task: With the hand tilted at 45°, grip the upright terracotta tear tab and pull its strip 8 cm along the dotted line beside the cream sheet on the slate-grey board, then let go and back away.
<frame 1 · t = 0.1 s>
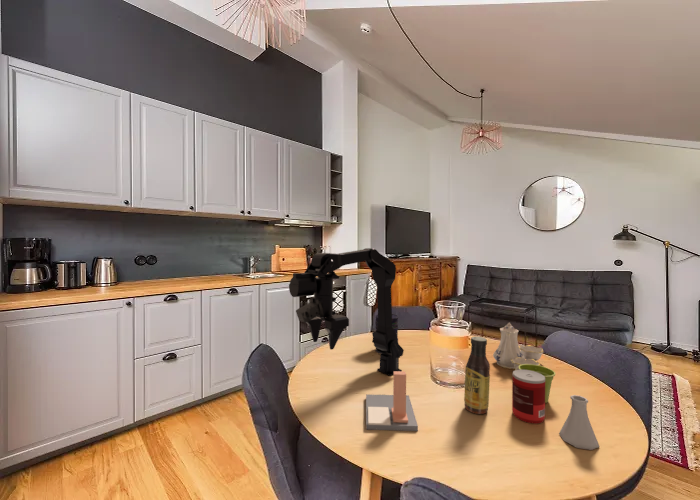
hand: (323, 345, 98), 15 cm above the table, tool pointing down, fingers open, 9 cm apart
sauce bottle: (476, 410, 88), on the table
canned food: (528, 416, 85), on the table
ticket board: (399, 421, 82), on the table
chinaware: (517, 367, 120), on the table
plant pot: (536, 399, 95), on the table
stub: (399, 394, 82), point 7 cm above the table, slide at 0.0 cm
flask: (578, 441, 74), on the table
storage jar: (386, 351, 138), on the table
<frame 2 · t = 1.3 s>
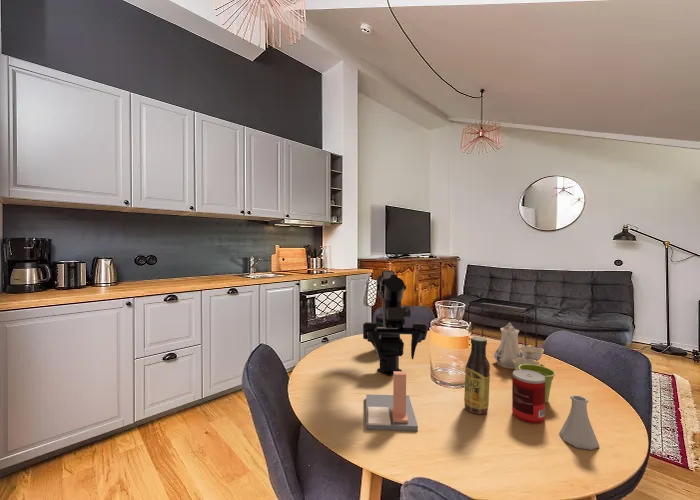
hand: (396, 358, 90), 13 cm above the table, tool tilted 45°, fingers open, 9 cm apart
nothing on the table moved.
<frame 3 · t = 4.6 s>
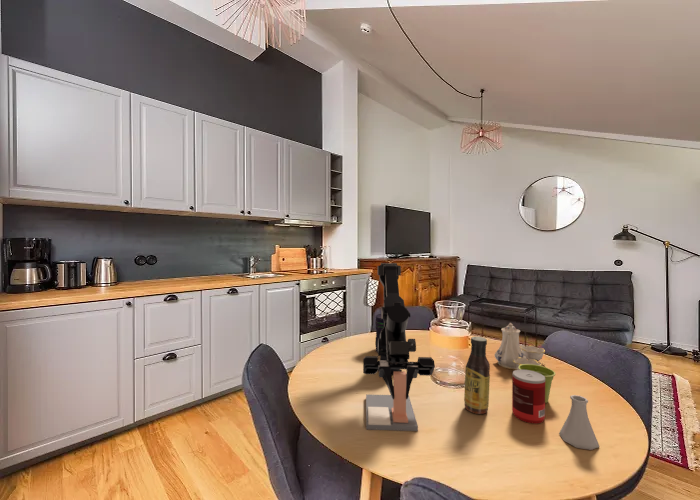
hand: (400, 398, 81), 7 cm above the table, tool tilted 45°, fingers closed on stub, 3 cm apart
stub: (399, 394, 82), point 7 cm above the table, slide at 0.0 cm, touching gripper
everything else where it was.
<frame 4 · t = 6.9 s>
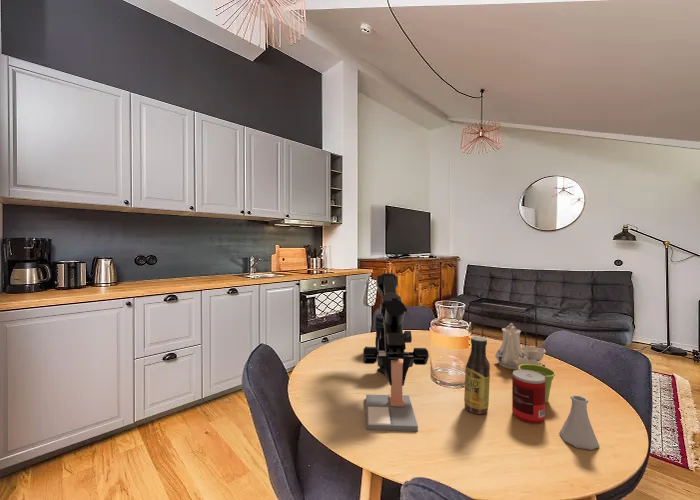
hand: (397, 385, 89), 7 cm above the table, tool tilted 45°, fingers closed on stub, 3 cm apart
stub: (396, 381, 90), point 7 cm above the table, slide at 7.9 cm, touching gripper
everything else where it was.
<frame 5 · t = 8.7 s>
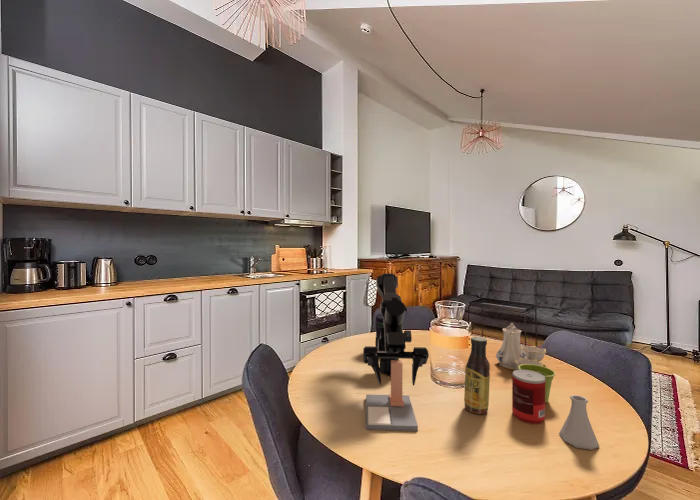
hand: (397, 384, 89), 7 cm above the table, tool tilted 45°, fingers open, 9 cm apart
stub: (396, 381, 90), point 7 cm above the table, slide at 8.0 cm
everything else where it was.
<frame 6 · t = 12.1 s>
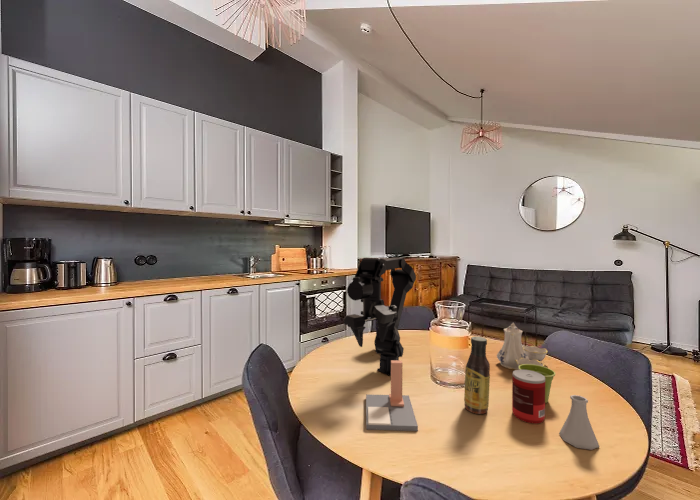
hand: (371, 344, 104), 13 cm above the table, tool pointing down, fingers open, 9 cm apart
at the end: stub slide at 8.0 cm; the gripper is holding nothing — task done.
